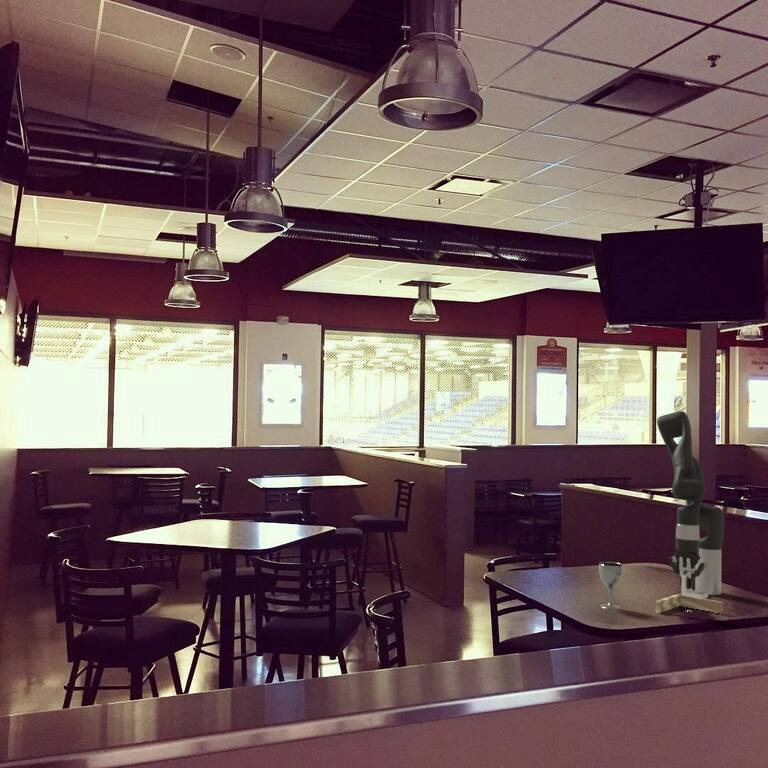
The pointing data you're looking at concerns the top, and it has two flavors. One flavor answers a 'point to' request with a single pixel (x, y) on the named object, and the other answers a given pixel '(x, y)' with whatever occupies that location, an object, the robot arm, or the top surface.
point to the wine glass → (610, 579)
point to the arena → (688, 604)
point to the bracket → (690, 592)
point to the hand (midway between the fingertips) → (686, 588)
